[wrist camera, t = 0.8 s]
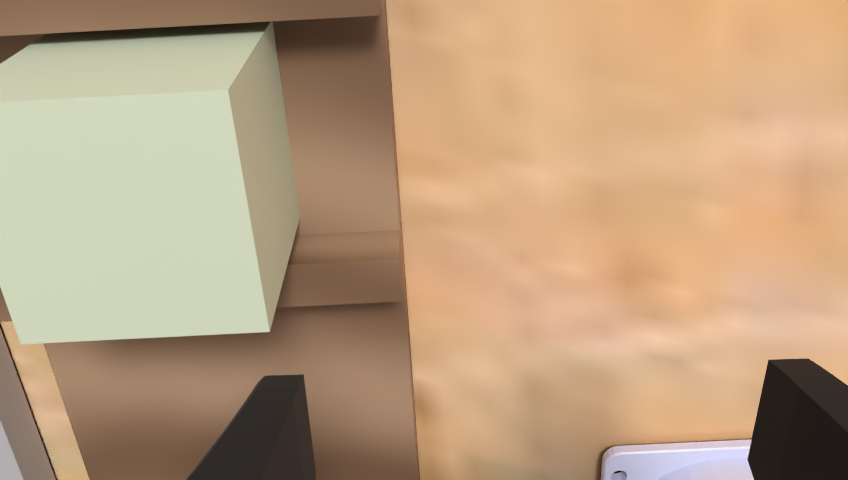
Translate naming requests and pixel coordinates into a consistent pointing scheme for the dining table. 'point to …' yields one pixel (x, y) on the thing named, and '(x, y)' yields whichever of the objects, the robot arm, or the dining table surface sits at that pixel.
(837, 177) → the dining table surface
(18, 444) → the slate strip
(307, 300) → the walnut strip
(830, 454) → the robot arm
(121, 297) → the cube
